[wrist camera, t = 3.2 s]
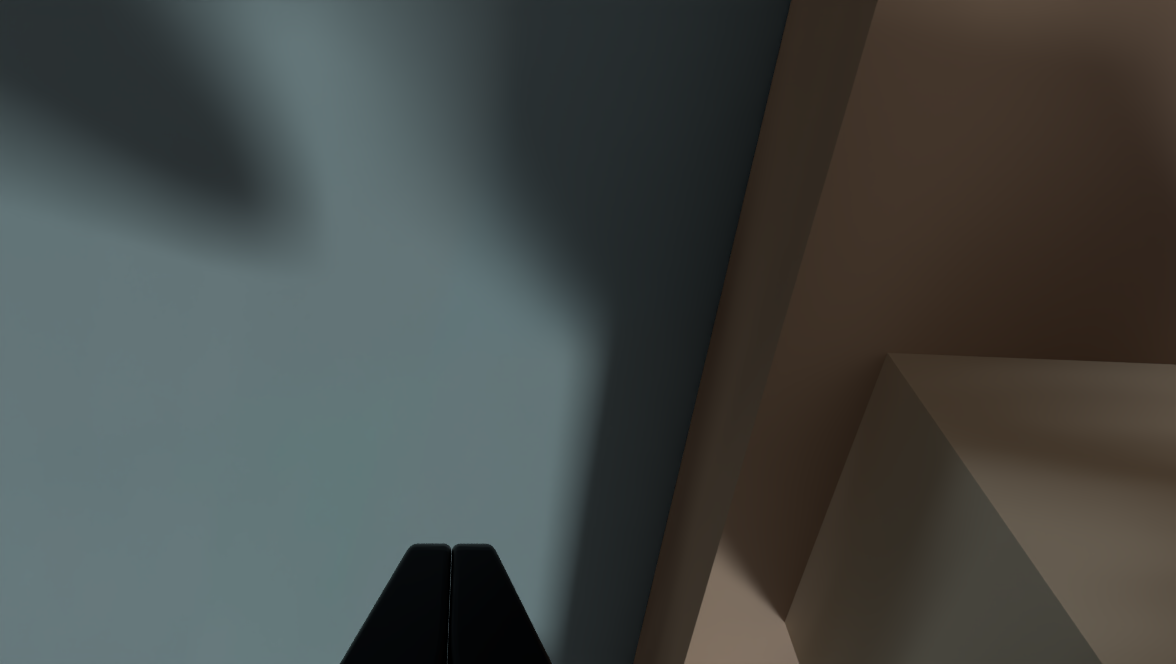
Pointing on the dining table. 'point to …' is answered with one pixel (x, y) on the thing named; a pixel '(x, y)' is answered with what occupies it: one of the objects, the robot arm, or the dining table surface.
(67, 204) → the dining table surface
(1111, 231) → the shallow wooden tray
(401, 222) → the dining table surface
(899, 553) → the beech block
